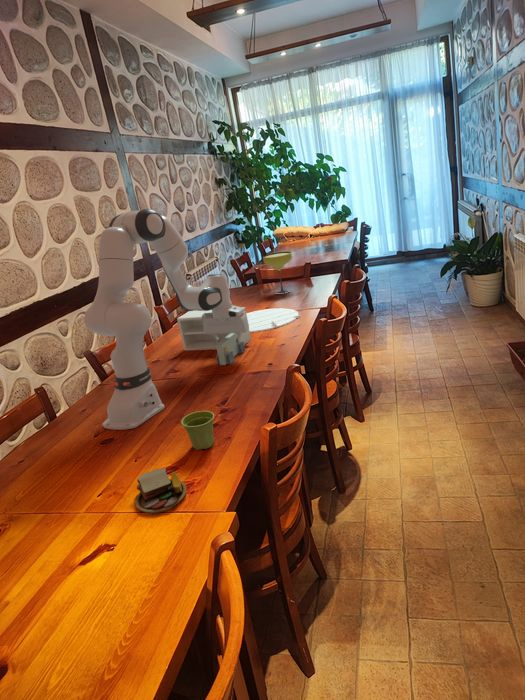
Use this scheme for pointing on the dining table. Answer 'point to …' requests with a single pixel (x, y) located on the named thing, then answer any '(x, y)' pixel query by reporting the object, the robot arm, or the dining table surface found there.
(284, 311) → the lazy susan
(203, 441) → the plant pot
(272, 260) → the cocktail glass
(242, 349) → the hinge clips
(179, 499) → the toy sandwich meal
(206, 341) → the cabinet
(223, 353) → the pale blue panel
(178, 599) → the dining table surface
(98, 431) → the dining table surface
